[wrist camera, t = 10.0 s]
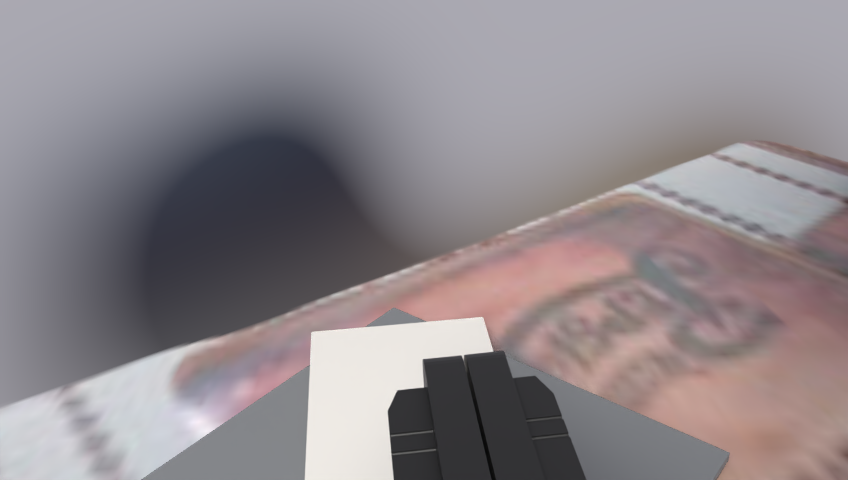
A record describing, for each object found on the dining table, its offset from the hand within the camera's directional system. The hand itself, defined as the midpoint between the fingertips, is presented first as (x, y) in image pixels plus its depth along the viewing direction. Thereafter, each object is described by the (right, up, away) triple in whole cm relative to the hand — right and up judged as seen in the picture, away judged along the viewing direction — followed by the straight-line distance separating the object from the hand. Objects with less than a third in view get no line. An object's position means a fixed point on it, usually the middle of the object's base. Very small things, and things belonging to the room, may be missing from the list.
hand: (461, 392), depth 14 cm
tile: (-1, -10, +18) cm, 20 cm away
